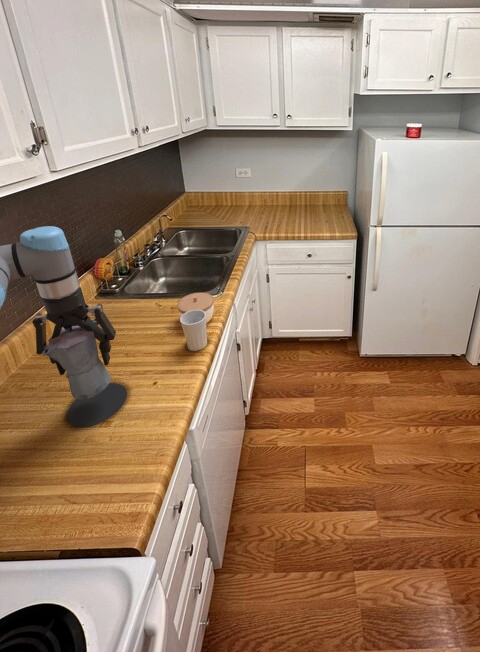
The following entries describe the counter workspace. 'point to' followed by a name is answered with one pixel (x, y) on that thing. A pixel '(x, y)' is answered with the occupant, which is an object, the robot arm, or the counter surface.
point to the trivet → (97, 406)
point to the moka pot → (79, 361)
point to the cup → (194, 329)
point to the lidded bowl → (197, 304)
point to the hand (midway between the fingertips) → (86, 366)
